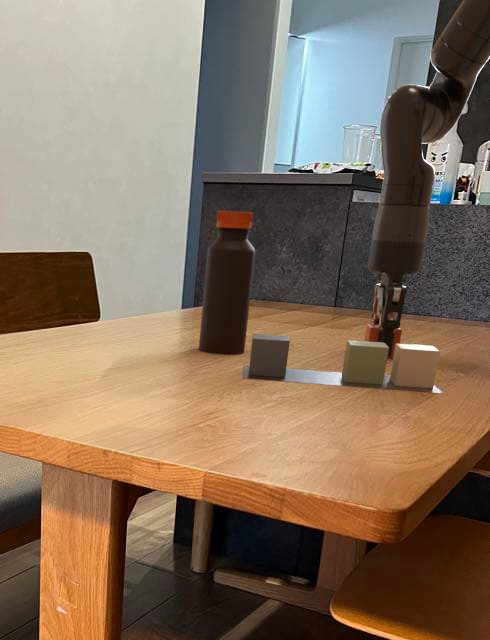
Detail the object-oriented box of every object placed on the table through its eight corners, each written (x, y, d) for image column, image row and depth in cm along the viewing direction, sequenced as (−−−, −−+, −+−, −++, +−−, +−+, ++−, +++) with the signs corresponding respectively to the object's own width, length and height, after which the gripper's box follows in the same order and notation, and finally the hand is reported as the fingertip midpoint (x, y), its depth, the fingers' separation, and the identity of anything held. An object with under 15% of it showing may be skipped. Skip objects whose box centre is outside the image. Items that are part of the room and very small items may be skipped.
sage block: (378, 378, 111) (384, 342, 109) (382, 384, 107) (389, 347, 105) (341, 375, 112) (347, 340, 110) (345, 382, 108) (350, 345, 106)
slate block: (284, 371, 113) (288, 336, 111) (285, 377, 109) (289, 340, 107) (248, 369, 114) (252, 333, 112) (248, 374, 110) (252, 338, 108)
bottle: (207, 358, 124) (221, 211, 117) (192, 350, 130) (204, 210, 123) (251, 358, 126) (267, 213, 119) (233, 351, 132) (248, 212, 125)
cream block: (426, 382, 110) (433, 345, 109) (433, 388, 106) (440, 351, 104) (389, 379, 111) (395, 343, 109) (394, 385, 107) (401, 348, 105)
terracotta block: (392, 355, 134) (397, 325, 133) (396, 360, 130) (402, 329, 128) (362, 353, 135) (366, 323, 133) (365, 358, 131) (370, 327, 129)
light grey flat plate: (427, 383, 113) (428, 378, 113) (442, 398, 104) (443, 393, 103) (243, 369, 117) (243, 365, 116) (242, 382, 107) (242, 378, 107)
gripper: (434, 241, 119) (412, 362, 125) (416, 238, 132) (397, 348, 138) (378, 238, 120) (359, 359, 126) (366, 236, 134) (350, 345, 140)
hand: (379, 353), depth 132 cm, fingers open, 6 cm apart
